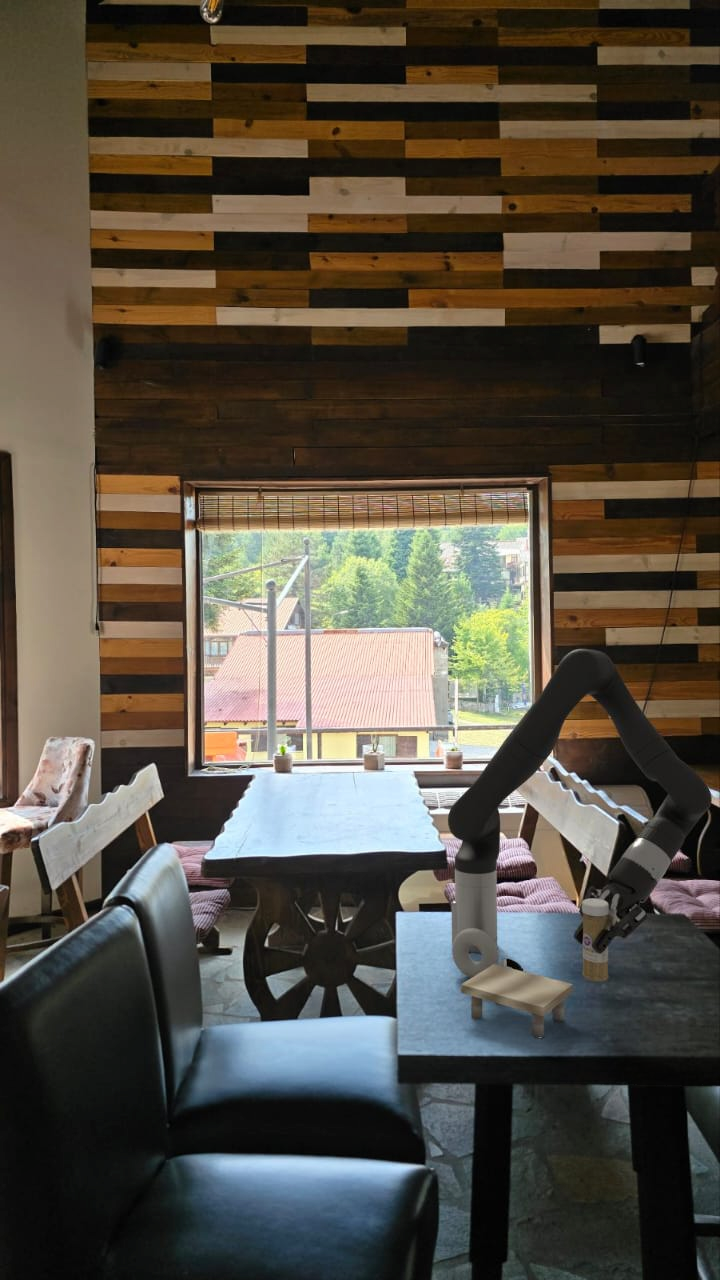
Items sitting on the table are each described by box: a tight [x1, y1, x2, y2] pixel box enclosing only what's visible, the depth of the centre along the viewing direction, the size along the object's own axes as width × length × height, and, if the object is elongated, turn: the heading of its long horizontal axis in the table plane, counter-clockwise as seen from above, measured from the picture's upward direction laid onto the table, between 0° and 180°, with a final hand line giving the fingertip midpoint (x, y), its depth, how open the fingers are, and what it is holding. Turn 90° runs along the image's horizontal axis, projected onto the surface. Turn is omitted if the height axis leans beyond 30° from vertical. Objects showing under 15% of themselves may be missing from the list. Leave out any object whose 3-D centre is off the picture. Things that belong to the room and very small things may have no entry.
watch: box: [499, 957, 525, 972], centre depth 169 cm, size 8×5×4 cm, turn 0°
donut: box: [451, 928, 500, 979], centre depth 167 cm, size 10×4×10 cm, turn 57°
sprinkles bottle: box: [581, 898, 609, 982], centre depth 148 cm, size 5×5×14 cm
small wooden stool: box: [460, 964, 574, 1039], centre depth 149 cm, size 16×12×6 cm
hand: (586, 945), depth 147 cm, fingers closed on sprinkles bottle, 4 cm apart
